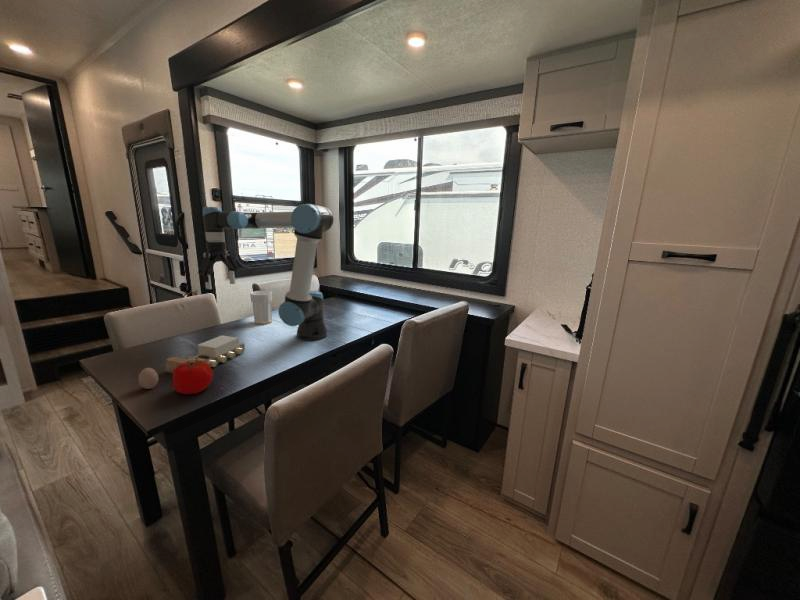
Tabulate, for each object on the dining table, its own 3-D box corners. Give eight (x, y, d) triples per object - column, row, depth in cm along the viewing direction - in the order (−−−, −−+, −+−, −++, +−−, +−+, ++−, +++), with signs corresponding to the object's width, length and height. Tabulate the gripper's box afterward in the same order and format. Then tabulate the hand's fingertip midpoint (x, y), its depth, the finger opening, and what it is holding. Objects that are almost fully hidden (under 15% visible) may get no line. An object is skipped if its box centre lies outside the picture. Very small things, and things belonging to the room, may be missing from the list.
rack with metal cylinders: (250, 351, 140) (249, 340, 139) (195, 378, 115) (194, 365, 114) (225, 346, 144) (224, 336, 143) (167, 371, 119) (165, 359, 117)
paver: (239, 346, 137) (238, 338, 136) (216, 357, 125) (215, 347, 124) (222, 343, 139) (221, 335, 138) (198, 354, 128) (197, 344, 127)
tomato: (165, 394, 103) (160, 365, 101) (197, 379, 114) (194, 352, 112) (190, 402, 99) (186, 373, 97) (222, 386, 110) (219, 358, 107)
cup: (259, 318, 185) (257, 290, 181) (277, 320, 184) (275, 291, 180) (248, 324, 175) (245, 294, 170) (267, 326, 173) (265, 295, 169)
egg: (153, 392, 105) (149, 371, 103) (136, 392, 104) (132, 371, 103) (163, 384, 110) (160, 364, 108) (147, 384, 110) (143, 364, 108)
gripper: (231, 240, 159) (235, 281, 164) (184, 242, 136) (191, 290, 141) (243, 240, 157) (247, 282, 162) (197, 242, 134) (204, 291, 138)
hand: (221, 286), depth 151 cm, fingers open, 13 cm apart
